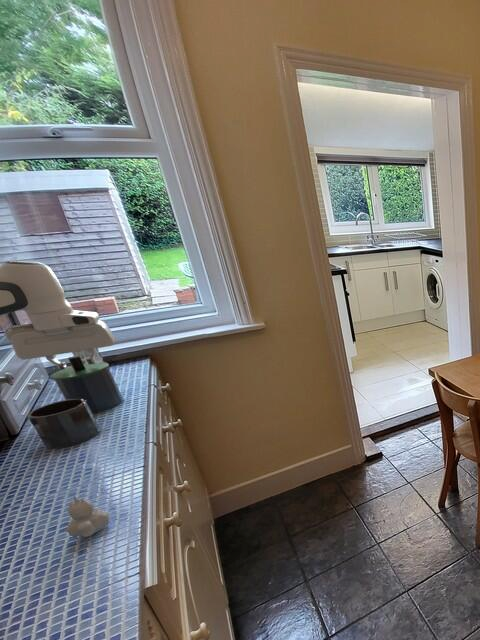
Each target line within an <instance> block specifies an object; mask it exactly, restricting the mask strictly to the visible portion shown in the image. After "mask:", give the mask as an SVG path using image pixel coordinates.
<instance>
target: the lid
mask: <svg viewBox="0 0 480 640" xmlns="http://www.w3.org/2000/svg"><path fill="white" fill-rule="evenodd" d="M67 358H68V361H69V363H70V366H71V365H72V367H70V366H68V367H69V368H66V369H62V370H58V371H55V372H54V373H52V374H50V379H51V380H54V381H55V380H67V379H74V378H79V377H83V376H87V375H91V374H94V373H97V372H100V371H103V370H105V369H106V368H109V367H110V365H109V363H108V362H105V361H104V362H97V363H96V364H91V365H89V364H83V362H82V360H81V358H80V356H74V355H72V356H69V357H67Z"/></svg>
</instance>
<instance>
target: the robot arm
mask: <svg viewBox="0 0 480 640" xmlns="http://www.w3.org/2000/svg"><path fill="white" fill-rule="evenodd" d="M17 311H24V312H25V314H26V316H27V318H28V320H29V321H30V323H24V324H18V325H17V324H16V325H10V326H9V327H8V328H6V329H5V330H4V335H5V337H6V339H7V340H8V341H9V342H11V345H12V349H13V351H14V353H15V356H16V357H17V358H18V359H21V360H22V361H24V360H25V361H26V360H32V359H37V358H38V359H39V358H44V357H45V358H46V360H47V361H48V362H50V363H52V364H53V365H55V366H56V368H57V370H58V371H60V370H63V369H66V368H67V367H68V365H67V364H66V362H65V361H60V360H58V359H57V358H56V357H57V355H63V354H68V353H72V352H76V351H82V350H87V351H88V353H91V356H90V358H87V359H86V360H87V362H88V364H89V365H91V364H96V363H97V361H96V359H95V354H96V351H97V350H96V348H98V349H99V348H100V349H101V348H106V347H111V346H113V345H114V344H115V343H116V338H115V335H114V334H113V332H112V330H111V328H110V327H109V326H108V325H107V323H106V322H104V321H102V320H100V318H101V317H100V315H99V313H98V312H96V311H86V310H77V309H76V310H75V309H74V308H73V306H72V305H71V304H70V303H69V302H68V300H67V299H66V296H65V291H64V288H63V286H62V284H61V283H60V281H59V279H58V278H57V276H56V274H55V273H54V271H53V270H52V268H51V267H49V266H48V265H47V264H45V263H43V262H41V261H34V260H8V261H5V262H4V263H2V264H1V265H0V317H3V316H6V315H9V314H11V313H14V312H17Z"/></svg>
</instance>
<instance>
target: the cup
mask: <svg viewBox="0 0 480 640" xmlns="http://www.w3.org/2000/svg"><path fill="white" fill-rule="evenodd" d="M26 416H27V418H28V420H29V421H30V423H31V425H32V426H33V428H34V430H35V432H36V433H37V435H38V437H39V438H40V440H41V441H42V443H43V445H44V446H45V447H46V448H47V449H48V450H58V449H64V448H69V447H72V446H73V447H74V446H75V445H79V444H81V443H84V442H87V441H89V440H91V439H93V438H95V437H96V436H98V434H100V433H101V427H100V425H99V423H98V422H97V419H96V418H95V415H94V413H93V414H92V412H91V410H90V408H89V406H88V405H87V403H86V401H85V400H84V399H69V400H65V399H64V400H59V401H56V402H51V403H49V404H45V405H43V406H40V407H37V408H35V409H33V410H32V411H29V412H28V414H27V415H26Z"/></svg>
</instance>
